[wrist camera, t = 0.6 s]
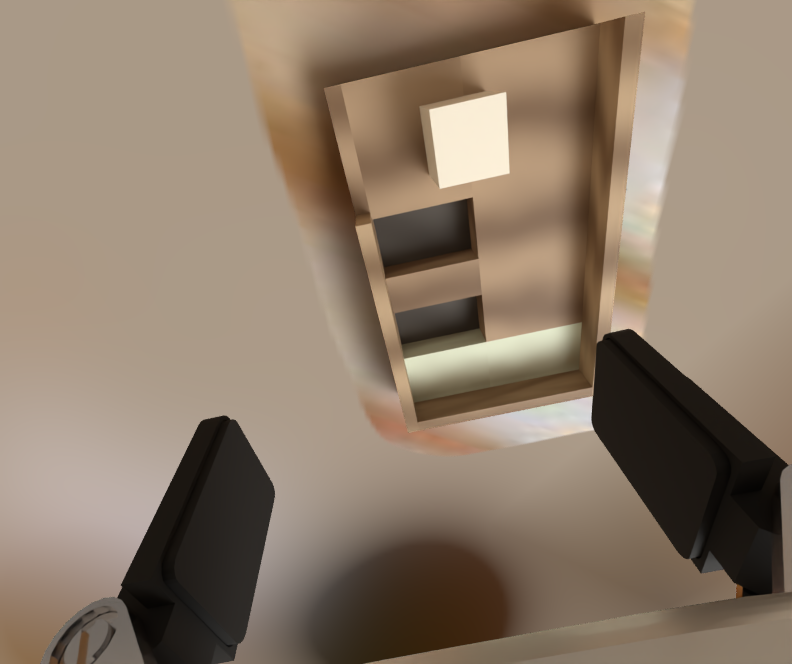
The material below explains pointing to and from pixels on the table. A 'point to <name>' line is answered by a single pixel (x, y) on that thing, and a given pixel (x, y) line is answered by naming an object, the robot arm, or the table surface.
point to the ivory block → (466, 138)
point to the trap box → (496, 222)
